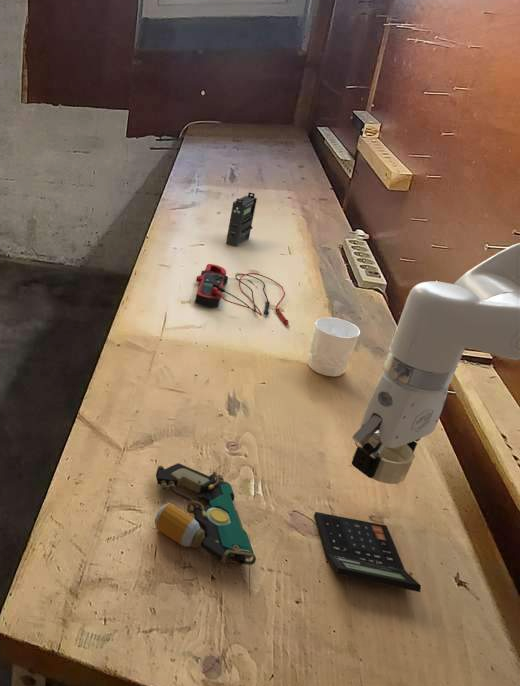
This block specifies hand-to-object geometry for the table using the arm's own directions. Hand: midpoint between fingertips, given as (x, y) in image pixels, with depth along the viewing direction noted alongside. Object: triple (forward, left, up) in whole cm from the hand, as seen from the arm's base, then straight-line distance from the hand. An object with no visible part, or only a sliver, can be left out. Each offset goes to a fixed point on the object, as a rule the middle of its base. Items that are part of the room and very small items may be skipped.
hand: (380, 462), depth 85 cm
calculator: (+11, +7, -7) cm, 15 cm away
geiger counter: (-56, -86, -7) cm, 103 cm away
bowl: (0, 0, -1) cm, 1 cm away
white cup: (-23, -27, -7) cm, 36 cm away
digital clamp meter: (-30, -58, -7) cm, 66 cm away
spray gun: (+27, -7, -7) cm, 29 cm away
